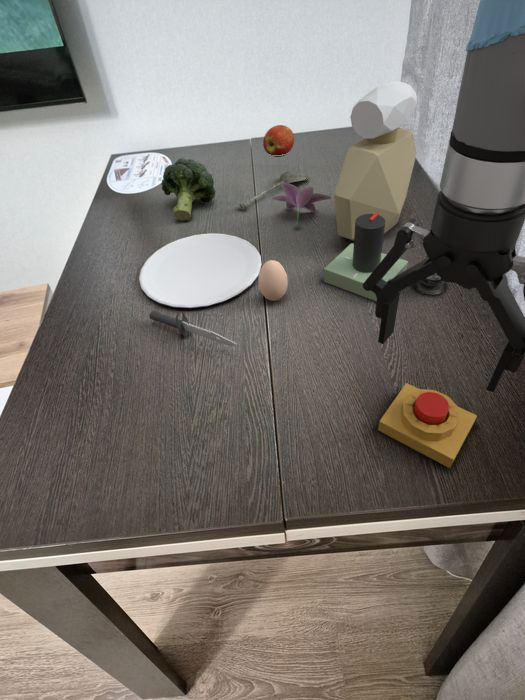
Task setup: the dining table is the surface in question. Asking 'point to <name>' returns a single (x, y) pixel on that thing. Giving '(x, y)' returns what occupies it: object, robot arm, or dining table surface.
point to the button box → (427, 427)
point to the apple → (278, 140)
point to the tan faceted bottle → (377, 158)
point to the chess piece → (430, 285)
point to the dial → (368, 242)
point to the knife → (188, 327)
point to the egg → (273, 280)
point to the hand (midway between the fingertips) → (436, 359)
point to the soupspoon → (285, 177)
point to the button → (431, 408)
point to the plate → (200, 270)
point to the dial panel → (356, 273)
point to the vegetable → (187, 185)
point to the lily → (299, 198)
